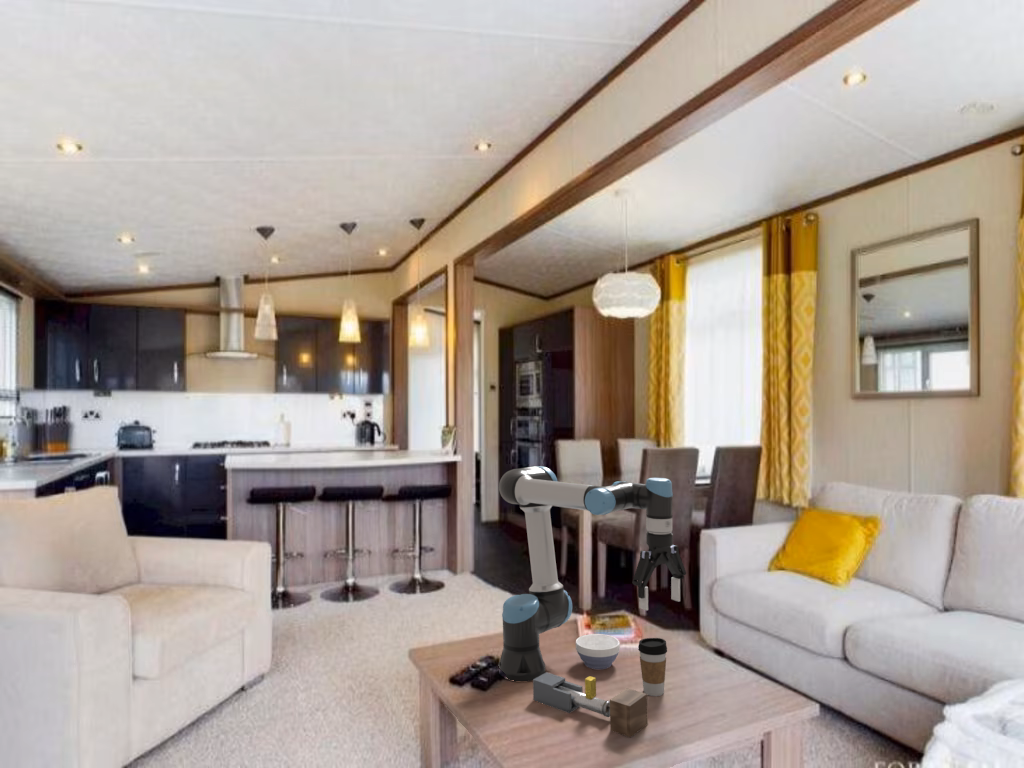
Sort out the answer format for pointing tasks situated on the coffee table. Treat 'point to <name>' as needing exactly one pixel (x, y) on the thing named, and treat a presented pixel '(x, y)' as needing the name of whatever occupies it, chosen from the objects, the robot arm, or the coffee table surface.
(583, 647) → the bowl
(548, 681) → the sleeve
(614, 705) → the socket
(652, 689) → the coffee cup
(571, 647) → the coffee table surface
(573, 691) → the tube
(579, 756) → the coffee table surface
